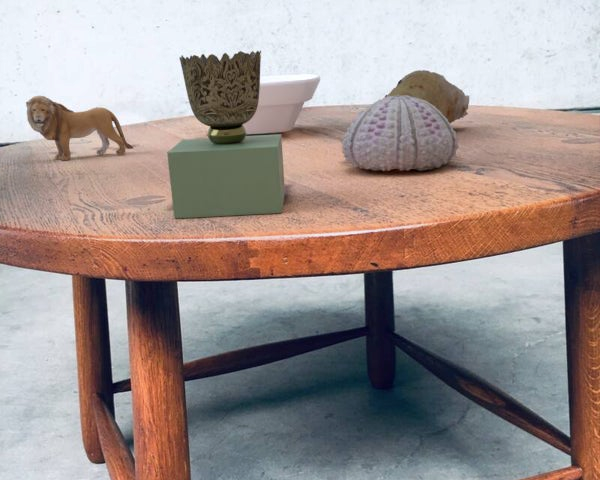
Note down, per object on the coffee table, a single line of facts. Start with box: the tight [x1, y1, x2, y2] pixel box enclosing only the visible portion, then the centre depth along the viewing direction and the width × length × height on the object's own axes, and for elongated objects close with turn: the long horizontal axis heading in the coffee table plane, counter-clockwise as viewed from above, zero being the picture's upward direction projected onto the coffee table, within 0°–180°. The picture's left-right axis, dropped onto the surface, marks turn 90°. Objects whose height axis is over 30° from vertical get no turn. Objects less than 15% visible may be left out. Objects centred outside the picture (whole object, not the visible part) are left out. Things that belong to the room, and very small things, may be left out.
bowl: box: [243, 73, 321, 135], centre depth 144 cm, size 21×21×9 cm
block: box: [166, 133, 286, 219], centre depth 87 cm, size 10×10×6 cm
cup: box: [179, 50, 262, 144], centre depth 84 cm, size 8×7×8 cm
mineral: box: [378, 69, 470, 124], centre depth 129 cm, size 26×9×10 cm
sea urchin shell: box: [340, 95, 460, 172], centre depth 103 cm, size 13×14×8 cm
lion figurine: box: [25, 95, 134, 161], centre depth 130 cm, size 15×5×9 cm, turn 117°
